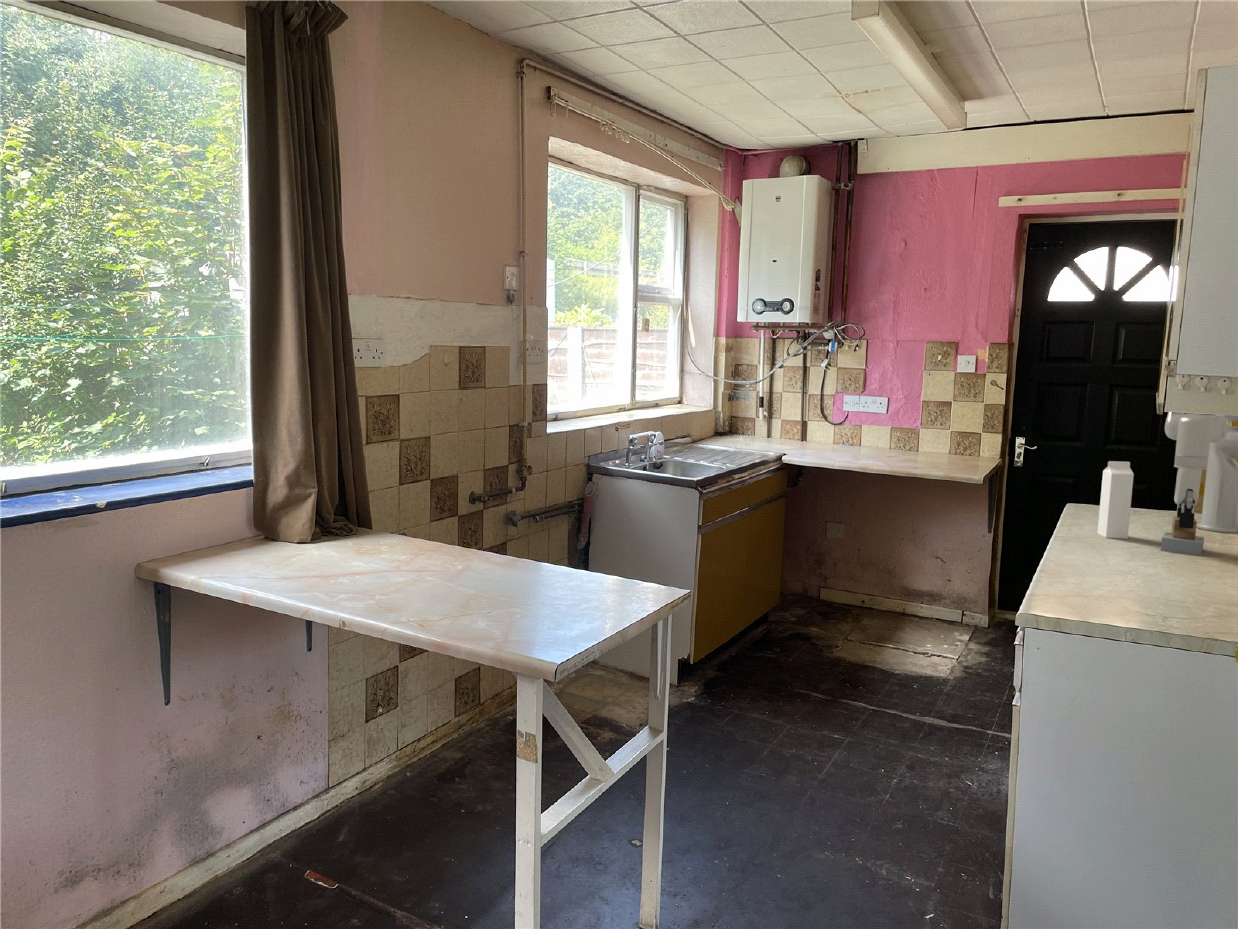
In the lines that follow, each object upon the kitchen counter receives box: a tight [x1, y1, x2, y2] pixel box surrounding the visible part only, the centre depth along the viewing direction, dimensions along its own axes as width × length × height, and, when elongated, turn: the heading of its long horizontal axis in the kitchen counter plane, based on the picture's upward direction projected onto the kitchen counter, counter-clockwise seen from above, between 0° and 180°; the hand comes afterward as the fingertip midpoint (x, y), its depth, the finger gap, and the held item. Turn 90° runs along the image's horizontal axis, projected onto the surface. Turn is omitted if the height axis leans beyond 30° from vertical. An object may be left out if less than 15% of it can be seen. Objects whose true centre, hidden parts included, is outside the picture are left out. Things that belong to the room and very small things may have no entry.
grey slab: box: [1160, 532, 1205, 557], centre depth 238 cm, size 9×9×4 cm
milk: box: [1096, 460, 1135, 540], centre depth 253 cm, size 6×6×22 cm
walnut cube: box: [1170, 516, 1198, 540], centre depth 237 cm, size 5×5×5 cm
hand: (1184, 524), depth 237 cm, fingers open, 9 cm apart
